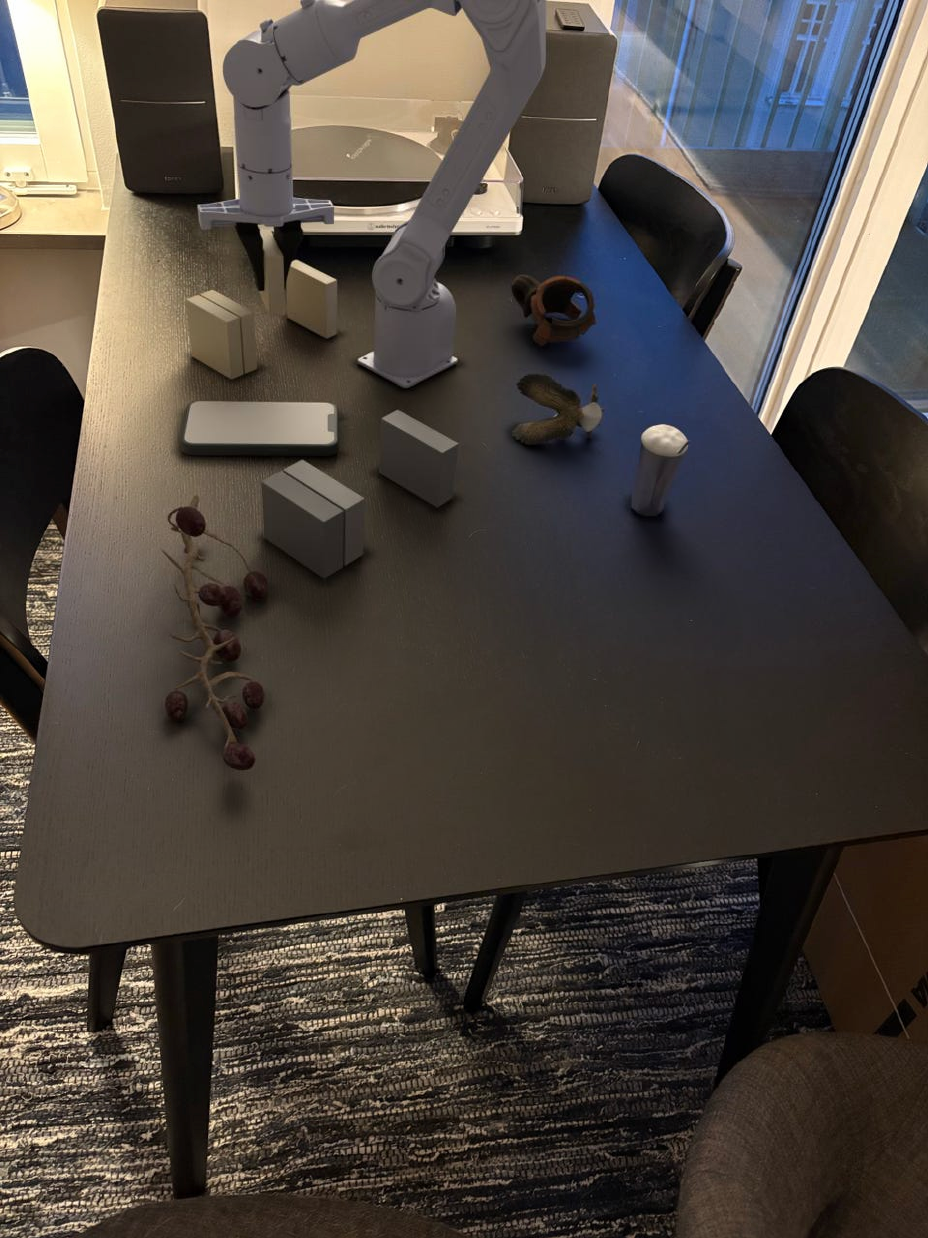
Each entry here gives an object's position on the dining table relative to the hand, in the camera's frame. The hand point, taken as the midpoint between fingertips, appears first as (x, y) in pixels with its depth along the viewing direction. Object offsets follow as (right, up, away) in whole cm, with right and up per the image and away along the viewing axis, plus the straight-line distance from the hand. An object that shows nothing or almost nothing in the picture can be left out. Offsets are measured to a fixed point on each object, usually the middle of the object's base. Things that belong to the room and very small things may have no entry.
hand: (270, 286), depth 112 cm
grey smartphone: (+1, -19, -9) cm, 21 cm away
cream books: (-1, -5, +5) cm, 7 cm away
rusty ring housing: (+33, -1, +14) cm, 36 cm away
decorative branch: (+2, -40, -31) cm, 50 cm away
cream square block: (0, -1, +1) cm, 2 cm away
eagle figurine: (+32, -18, -4) cm, 37 cm away
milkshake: (+41, -27, -12) cm, 51 cm away
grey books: (+12, -28, -18) cm, 36 cm away
